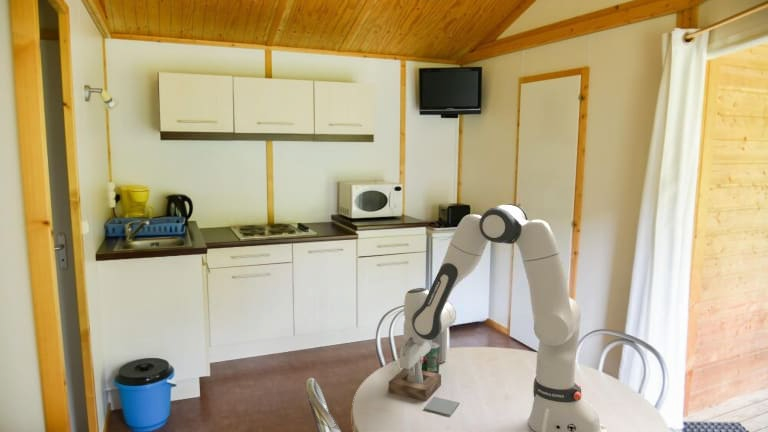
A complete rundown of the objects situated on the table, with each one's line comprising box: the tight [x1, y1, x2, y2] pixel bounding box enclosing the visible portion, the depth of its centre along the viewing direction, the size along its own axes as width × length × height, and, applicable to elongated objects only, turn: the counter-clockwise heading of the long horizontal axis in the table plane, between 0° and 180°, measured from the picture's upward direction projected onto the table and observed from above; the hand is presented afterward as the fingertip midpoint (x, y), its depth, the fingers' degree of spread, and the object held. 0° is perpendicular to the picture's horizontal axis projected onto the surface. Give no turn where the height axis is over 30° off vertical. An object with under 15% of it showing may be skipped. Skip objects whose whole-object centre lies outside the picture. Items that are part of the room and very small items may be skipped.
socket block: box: [388, 368, 442, 402], centre depth 177 cm, size 14×14×4 cm
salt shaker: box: [407, 355, 423, 384], centre depth 177 cm, size 6×6×13 cm
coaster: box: [423, 396, 460, 417], centre depth 165 cm, size 9×9×1 cm
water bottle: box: [432, 328, 448, 364], centre depth 202 cm, size 9×8×25 cm
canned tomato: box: [421, 341, 440, 374], centre depth 191 cm, size 8×8×11 cm
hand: (415, 372), depth 177 cm, fingers closed on salt shaker, 4 cm apart
